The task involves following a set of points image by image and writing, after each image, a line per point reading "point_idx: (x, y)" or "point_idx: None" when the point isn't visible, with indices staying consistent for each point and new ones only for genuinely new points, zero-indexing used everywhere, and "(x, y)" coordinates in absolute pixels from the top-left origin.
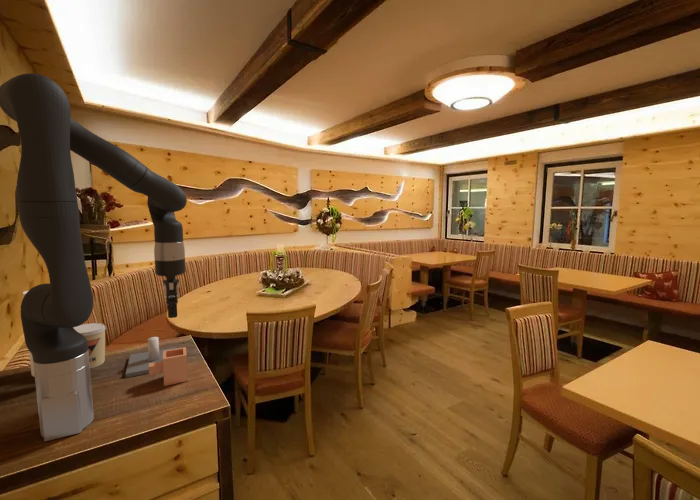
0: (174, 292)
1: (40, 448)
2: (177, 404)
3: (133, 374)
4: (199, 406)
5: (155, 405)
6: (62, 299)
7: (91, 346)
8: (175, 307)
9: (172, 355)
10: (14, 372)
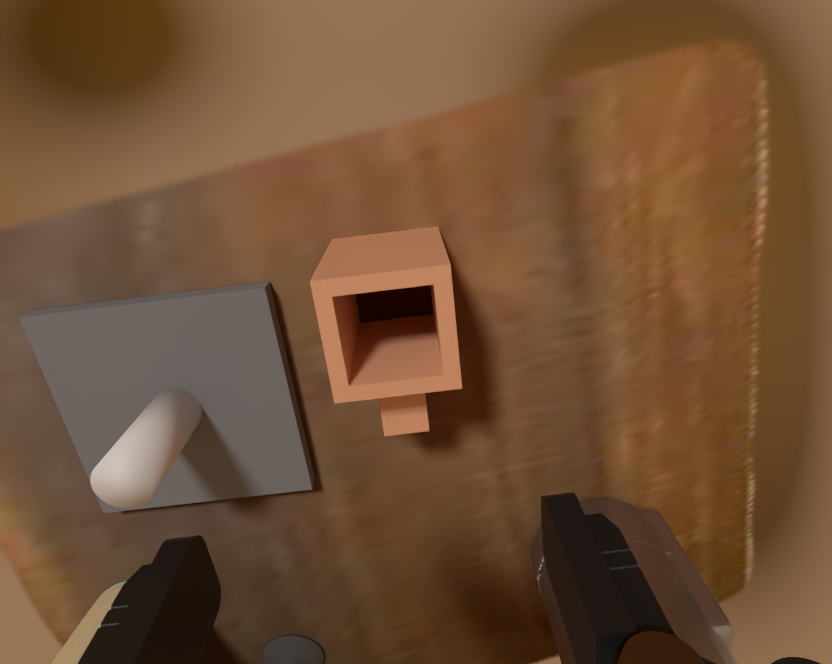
0: None
1: None
2: (636, 251)
3: (309, 459)
4: (703, 155)
5: (599, 333)
6: None
7: None
8: (617, 600)
9: (346, 342)
10: None
